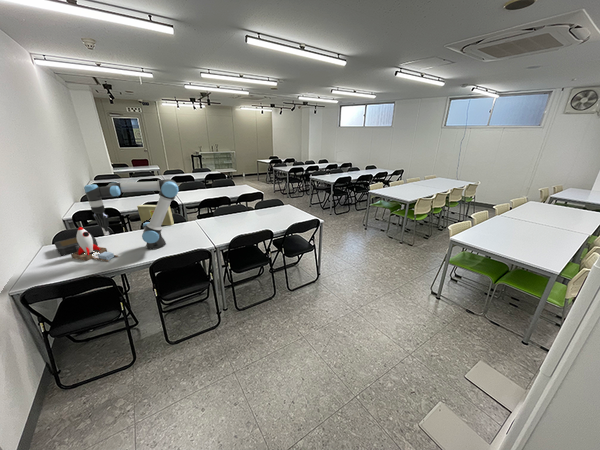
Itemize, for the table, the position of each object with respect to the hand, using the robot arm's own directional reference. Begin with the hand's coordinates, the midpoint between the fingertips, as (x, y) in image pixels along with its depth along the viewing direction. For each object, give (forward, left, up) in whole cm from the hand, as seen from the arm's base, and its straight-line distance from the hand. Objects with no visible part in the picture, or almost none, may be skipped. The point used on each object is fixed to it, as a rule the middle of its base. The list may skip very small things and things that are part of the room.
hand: (106, 234), depth 181 cm
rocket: (+28, 0, -22) cm, 36 cm away
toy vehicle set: (+31, -71, -23) cm, 81 cm away
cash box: (+52, -6, -23) cm, 58 cm away
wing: (+10, 0, -22) cm, 24 cm away
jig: (+20, 0, -22) cm, 30 cm away
